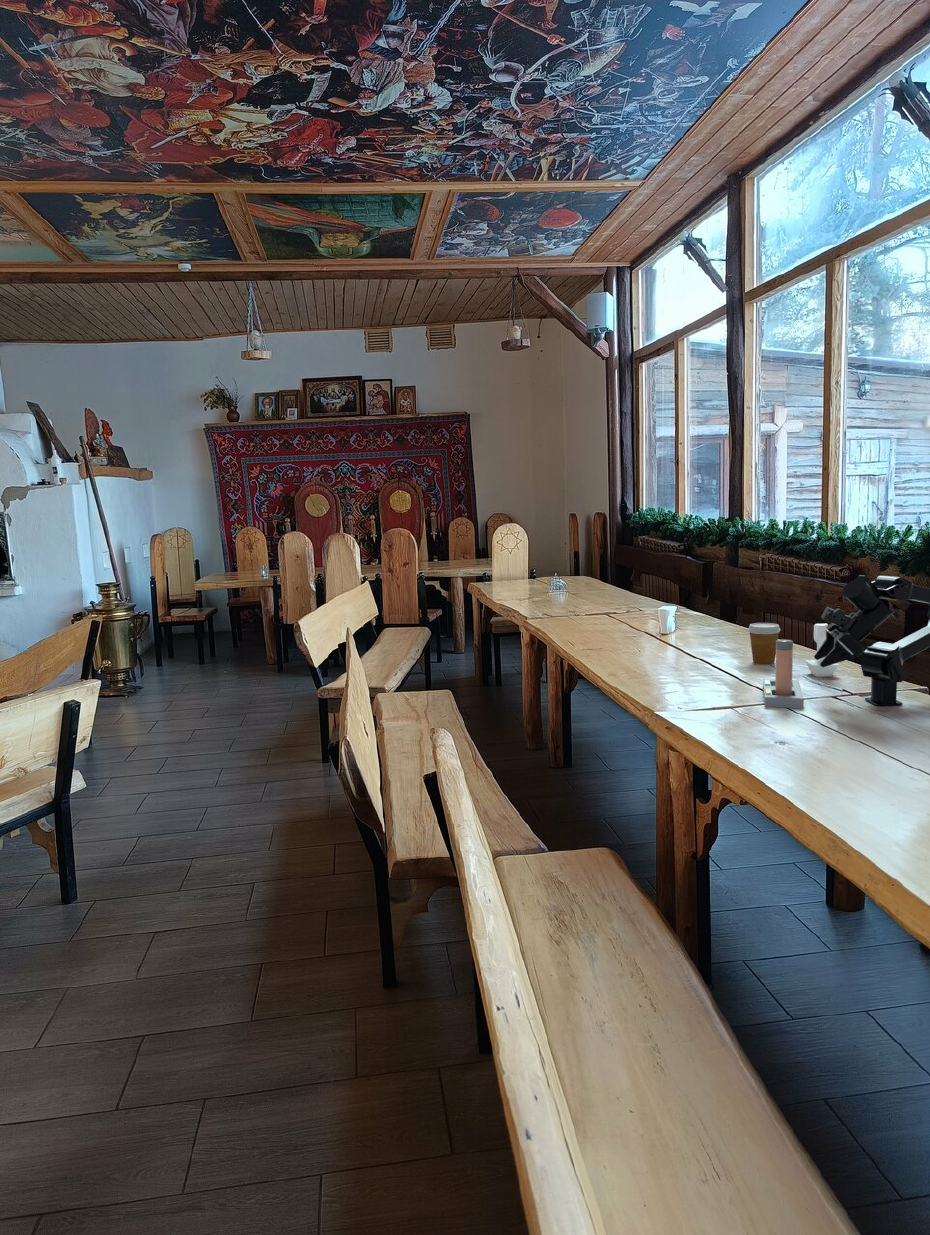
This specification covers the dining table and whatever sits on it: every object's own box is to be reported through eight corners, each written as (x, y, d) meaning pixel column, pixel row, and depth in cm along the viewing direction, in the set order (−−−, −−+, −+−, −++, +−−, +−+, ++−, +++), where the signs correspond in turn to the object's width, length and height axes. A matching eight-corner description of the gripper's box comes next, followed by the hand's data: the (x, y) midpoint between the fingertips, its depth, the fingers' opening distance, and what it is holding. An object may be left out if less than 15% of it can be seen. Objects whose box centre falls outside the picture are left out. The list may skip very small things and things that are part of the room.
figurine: (813, 678, 228) (814, 626, 226) (803, 671, 238) (804, 621, 235) (840, 678, 227) (841, 626, 225) (828, 671, 237) (830, 620, 234)
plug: (794, 704, 203) (795, 642, 201) (778, 704, 203) (779, 642, 201) (788, 700, 207) (789, 639, 205) (772, 700, 207) (773, 639, 205)
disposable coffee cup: (741, 661, 255) (741, 624, 253) (766, 658, 257) (767, 621, 256) (760, 667, 246) (761, 628, 244) (786, 663, 248) (787, 625, 247)
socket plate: (803, 708, 199) (803, 696, 198) (764, 706, 202) (765, 695, 201) (798, 689, 218) (798, 678, 217) (763, 687, 221) (763, 677, 220)
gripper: (836, 591, 206) (789, 633, 211) (850, 601, 189) (799, 646, 193) (868, 621, 205) (821, 663, 210) (886, 634, 188) (833, 679, 192)
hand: (818, 662), depth 201 cm, fingers open, 9 cm apart
